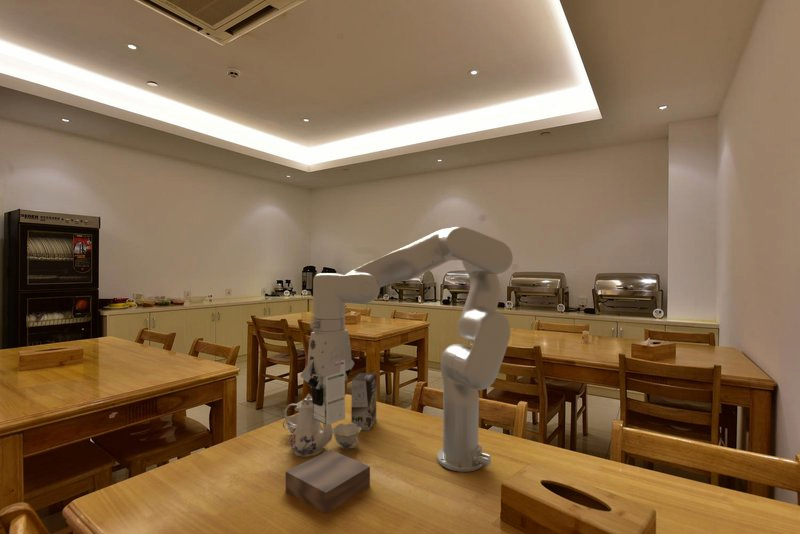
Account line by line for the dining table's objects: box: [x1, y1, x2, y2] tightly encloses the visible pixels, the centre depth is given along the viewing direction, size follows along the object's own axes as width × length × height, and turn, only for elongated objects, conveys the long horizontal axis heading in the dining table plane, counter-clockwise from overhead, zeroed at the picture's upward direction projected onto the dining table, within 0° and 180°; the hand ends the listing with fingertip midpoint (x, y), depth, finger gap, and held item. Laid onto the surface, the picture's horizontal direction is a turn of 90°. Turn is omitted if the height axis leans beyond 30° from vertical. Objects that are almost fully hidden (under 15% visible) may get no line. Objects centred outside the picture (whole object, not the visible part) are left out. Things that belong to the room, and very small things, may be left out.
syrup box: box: [313, 359, 346, 425], centre depth 95 cm, size 6×6×14 cm
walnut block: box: [285, 449, 371, 515], centre depth 95 cm, size 14×14×5 cm
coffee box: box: [350, 372, 378, 432], centre depth 132 cm, size 9×6×16 cm
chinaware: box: [282, 393, 363, 458], centre depth 117 cm, size 28×17×17 cm, turn 70°
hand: (328, 400), depth 95 cm, fingers closed on syrup box, 6 cm apart
